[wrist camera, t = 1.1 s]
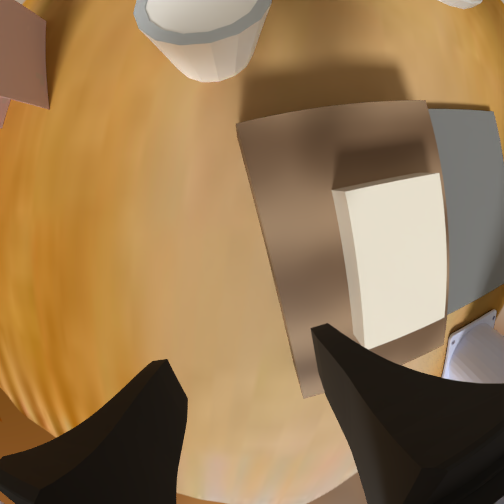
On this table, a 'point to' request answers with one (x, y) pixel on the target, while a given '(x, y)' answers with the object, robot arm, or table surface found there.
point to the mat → (472, 201)
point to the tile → (393, 255)
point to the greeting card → (22, 57)
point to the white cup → (204, 33)
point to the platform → (331, 210)
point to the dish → (461, 3)
